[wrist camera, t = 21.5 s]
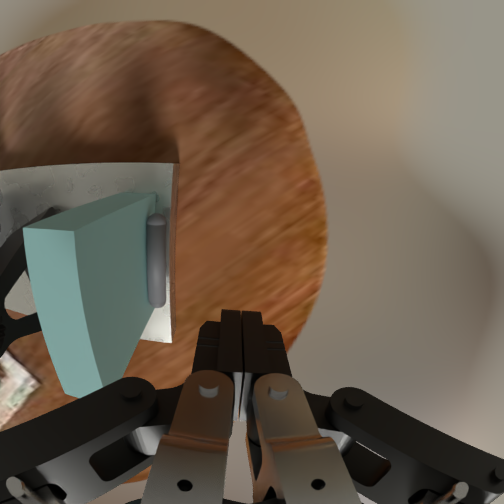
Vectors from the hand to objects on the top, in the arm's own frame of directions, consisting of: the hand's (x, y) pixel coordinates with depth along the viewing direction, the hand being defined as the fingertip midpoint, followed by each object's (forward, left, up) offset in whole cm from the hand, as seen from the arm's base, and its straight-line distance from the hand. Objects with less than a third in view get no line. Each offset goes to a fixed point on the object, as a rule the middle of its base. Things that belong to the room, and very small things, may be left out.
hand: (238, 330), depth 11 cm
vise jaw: (-6, -3, -8) cm, 10 cm away
